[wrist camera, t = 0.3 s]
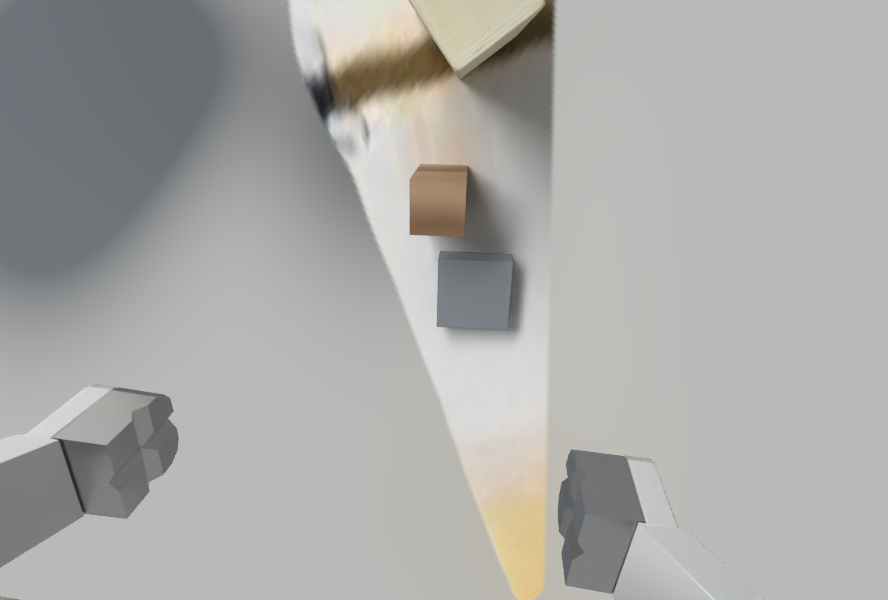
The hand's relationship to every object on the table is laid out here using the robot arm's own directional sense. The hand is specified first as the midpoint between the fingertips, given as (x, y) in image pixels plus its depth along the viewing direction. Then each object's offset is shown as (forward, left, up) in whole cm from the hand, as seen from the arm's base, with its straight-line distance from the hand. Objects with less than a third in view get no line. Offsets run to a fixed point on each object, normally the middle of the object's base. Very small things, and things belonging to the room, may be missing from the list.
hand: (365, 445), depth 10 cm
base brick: (+14, +3, -47) cm, 49 cm away
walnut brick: (+3, -1, -47) cm, 47 cm away
